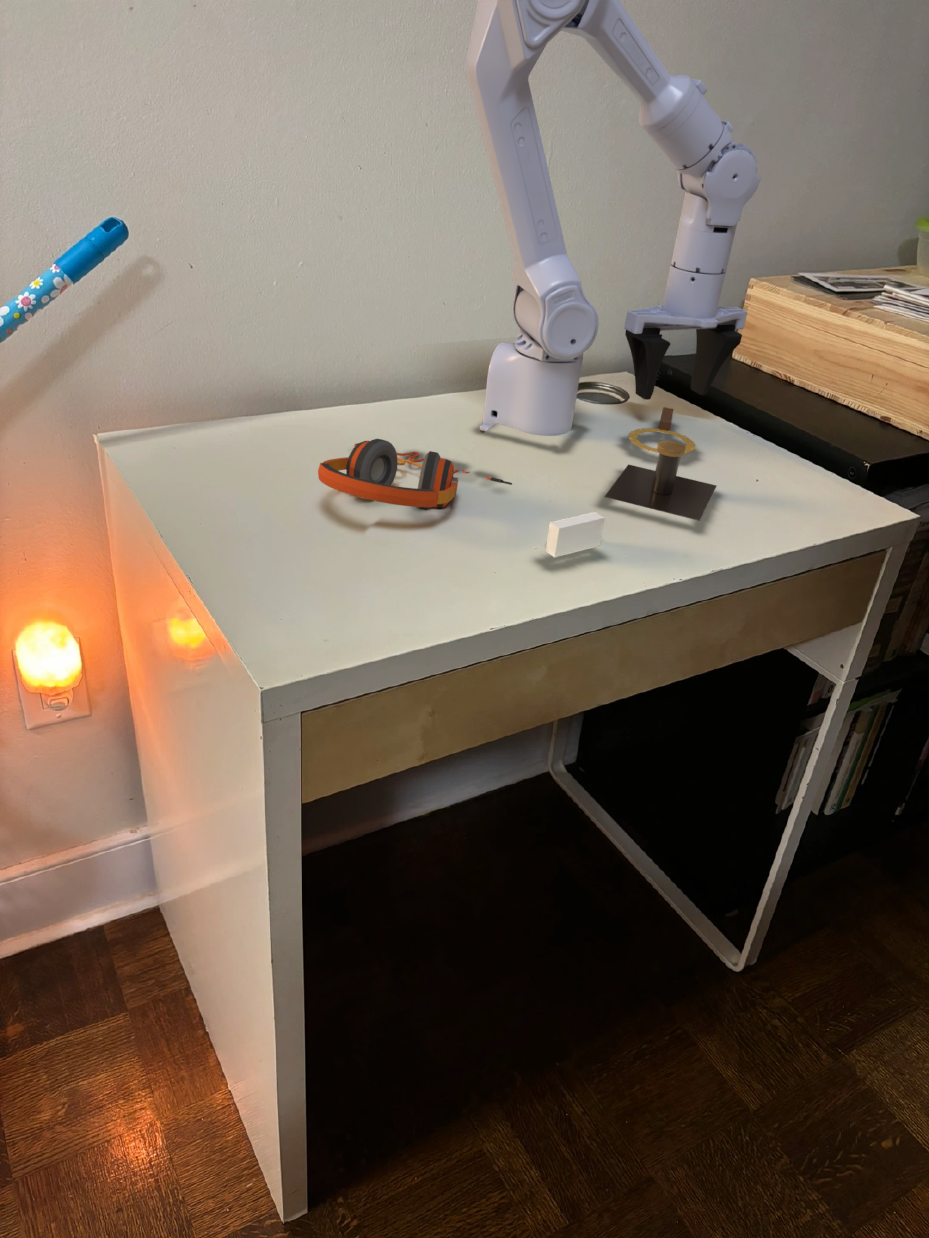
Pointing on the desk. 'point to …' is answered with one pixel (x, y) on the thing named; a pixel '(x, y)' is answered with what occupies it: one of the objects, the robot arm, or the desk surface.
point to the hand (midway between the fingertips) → (670, 394)
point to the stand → (663, 486)
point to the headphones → (391, 476)
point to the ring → (663, 428)
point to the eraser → (574, 534)
